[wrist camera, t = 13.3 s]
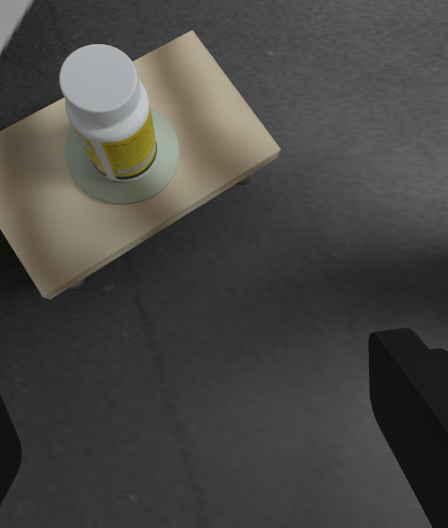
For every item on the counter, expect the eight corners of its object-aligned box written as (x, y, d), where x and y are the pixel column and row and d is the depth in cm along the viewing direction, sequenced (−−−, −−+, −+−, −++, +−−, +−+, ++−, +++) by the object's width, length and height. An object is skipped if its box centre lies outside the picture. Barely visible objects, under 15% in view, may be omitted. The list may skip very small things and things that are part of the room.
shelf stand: (191, 78, 38) (192, 26, 32) (265, 180, 37) (282, 146, 30) (-6, 187, 34) (-49, 152, 28) (68, 305, 33) (40, 296, 27)
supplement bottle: (166, 134, 30) (158, 54, 22) (144, 192, 29) (127, 131, 21) (103, 113, 30) (71, 25, 21) (79, 171, 29) (36, 101, 20)
